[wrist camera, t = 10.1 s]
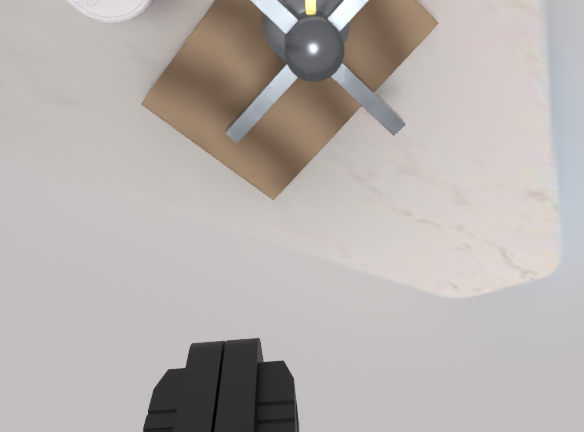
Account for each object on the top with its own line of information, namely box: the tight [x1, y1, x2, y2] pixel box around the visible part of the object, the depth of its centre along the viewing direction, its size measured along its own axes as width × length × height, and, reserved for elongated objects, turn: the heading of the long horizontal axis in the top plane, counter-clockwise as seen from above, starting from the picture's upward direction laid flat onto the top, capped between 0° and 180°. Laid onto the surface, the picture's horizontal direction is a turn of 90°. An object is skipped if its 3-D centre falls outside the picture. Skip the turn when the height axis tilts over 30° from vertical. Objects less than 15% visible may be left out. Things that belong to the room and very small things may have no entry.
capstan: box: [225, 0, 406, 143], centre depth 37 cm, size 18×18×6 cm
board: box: [141, 0, 439, 200], centre depth 42 cm, size 20×14×2 cm
